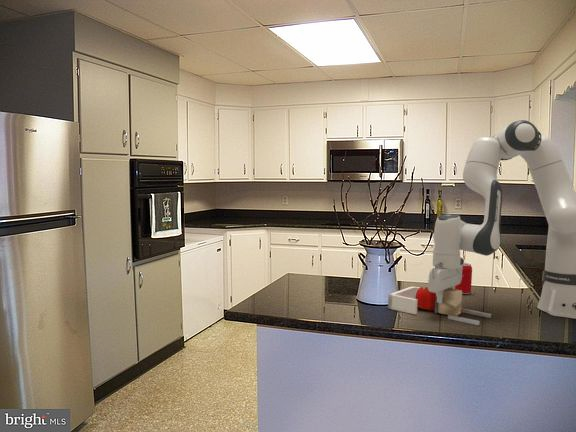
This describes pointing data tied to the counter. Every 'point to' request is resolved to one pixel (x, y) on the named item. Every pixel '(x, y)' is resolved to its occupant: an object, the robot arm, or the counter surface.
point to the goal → (404, 300)
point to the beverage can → (465, 279)
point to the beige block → (450, 302)
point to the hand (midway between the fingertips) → (444, 300)
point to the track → (469, 319)
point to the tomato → (425, 299)
